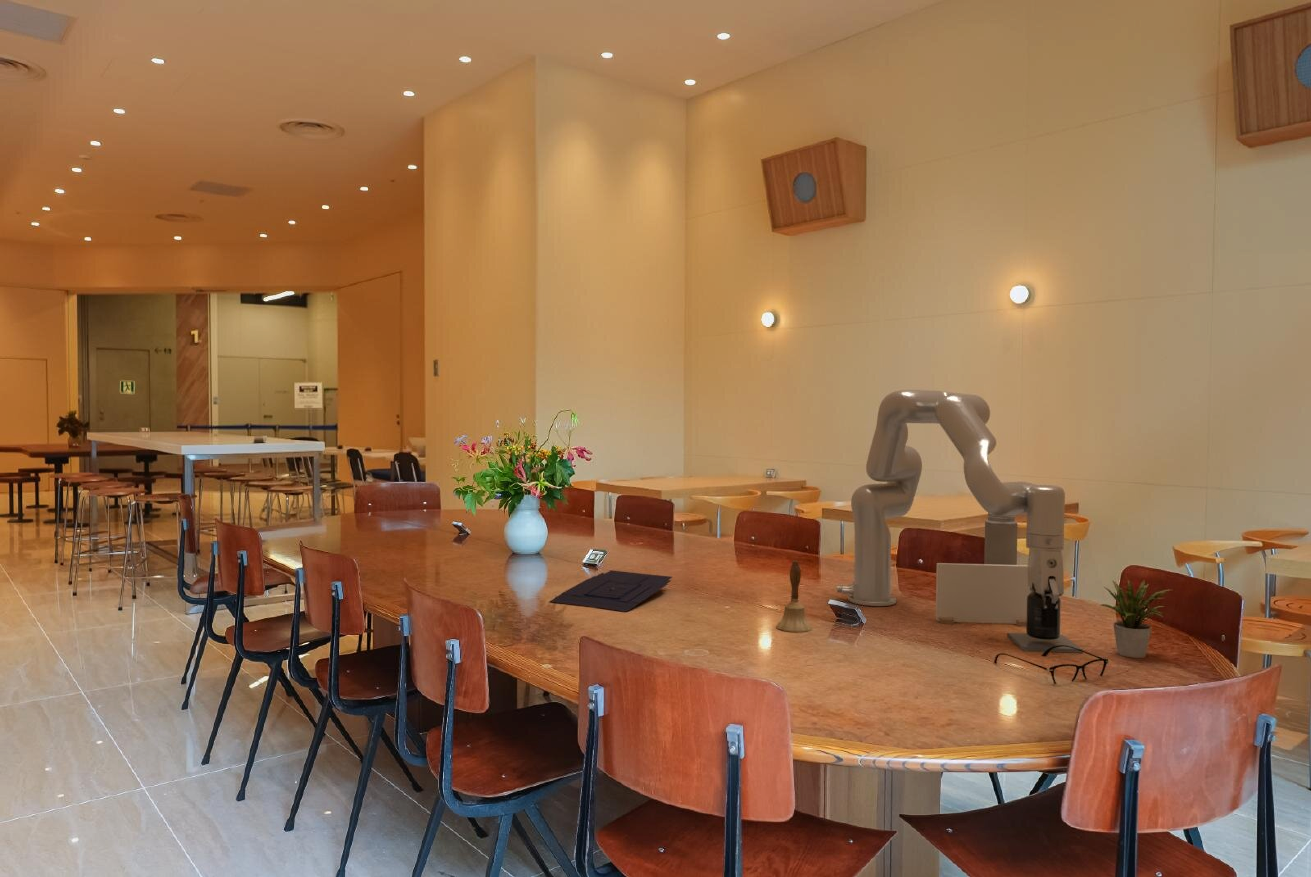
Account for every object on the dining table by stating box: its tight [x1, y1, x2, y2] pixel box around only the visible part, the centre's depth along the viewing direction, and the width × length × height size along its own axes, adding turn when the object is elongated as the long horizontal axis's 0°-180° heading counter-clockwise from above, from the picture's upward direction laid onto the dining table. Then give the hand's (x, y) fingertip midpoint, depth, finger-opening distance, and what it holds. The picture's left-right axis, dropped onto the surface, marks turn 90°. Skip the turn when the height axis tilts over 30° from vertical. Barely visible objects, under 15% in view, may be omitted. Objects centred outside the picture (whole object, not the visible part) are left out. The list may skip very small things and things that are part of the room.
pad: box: [1006, 632, 1083, 654], centre depth 187 cm, size 12×12×1 cm
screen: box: [935, 562, 1031, 627], centre depth 207 cm, size 22×6×14 cm, turn 83°
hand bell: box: [775, 560, 813, 633], centre depth 200 cm, size 8×8×16 cm
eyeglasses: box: [993, 645, 1109, 685], centre depth 169 cm, size 16×16×4 cm
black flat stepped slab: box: [549, 570, 673, 613], centre depth 234 cm, size 24×30×4 cm
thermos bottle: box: [983, 512, 1018, 565], centre depth 224 cm, size 8×8×28 cm
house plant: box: [1099, 576, 1174, 659], centre depth 178 cm, size 14×14×16 cm
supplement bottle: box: [1025, 582, 1062, 640], centre depth 187 cm, size 7×7×12 cm
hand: (1042, 621), depth 187 cm, fingers closed on supplement bottle, 6 cm apart
